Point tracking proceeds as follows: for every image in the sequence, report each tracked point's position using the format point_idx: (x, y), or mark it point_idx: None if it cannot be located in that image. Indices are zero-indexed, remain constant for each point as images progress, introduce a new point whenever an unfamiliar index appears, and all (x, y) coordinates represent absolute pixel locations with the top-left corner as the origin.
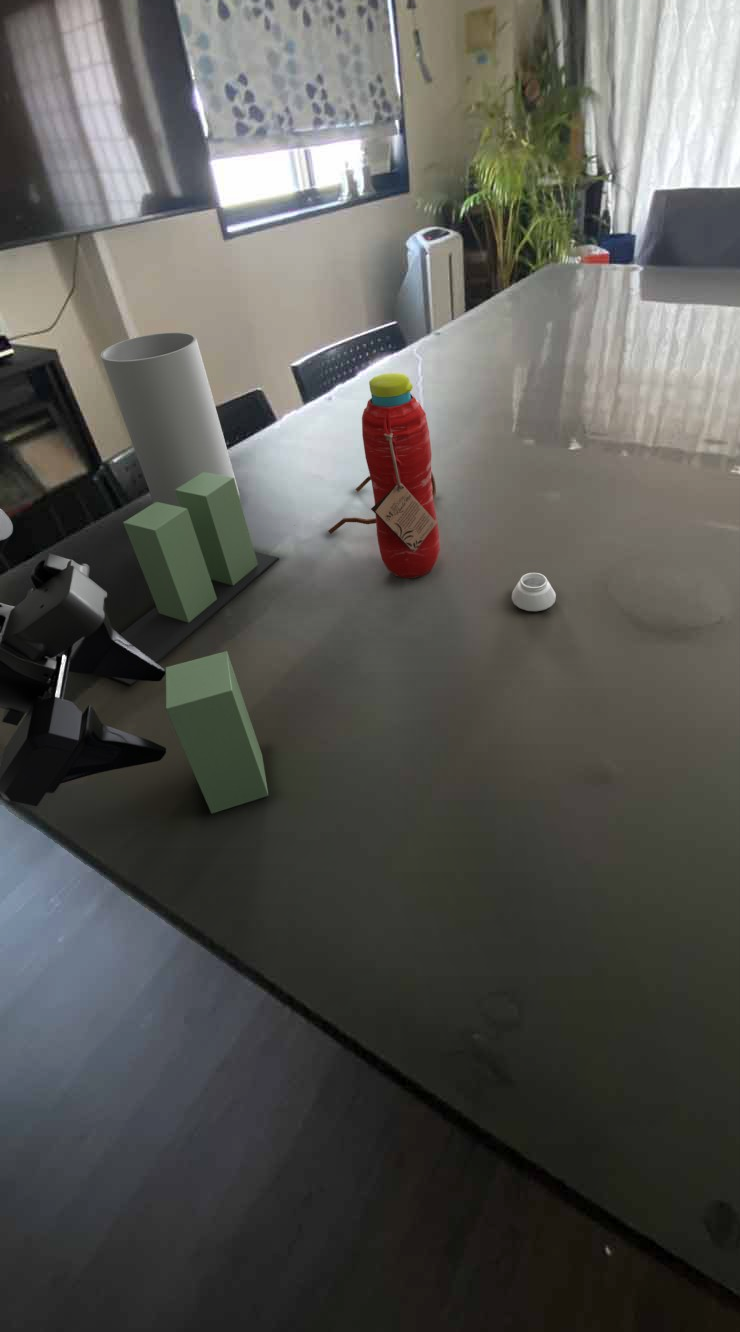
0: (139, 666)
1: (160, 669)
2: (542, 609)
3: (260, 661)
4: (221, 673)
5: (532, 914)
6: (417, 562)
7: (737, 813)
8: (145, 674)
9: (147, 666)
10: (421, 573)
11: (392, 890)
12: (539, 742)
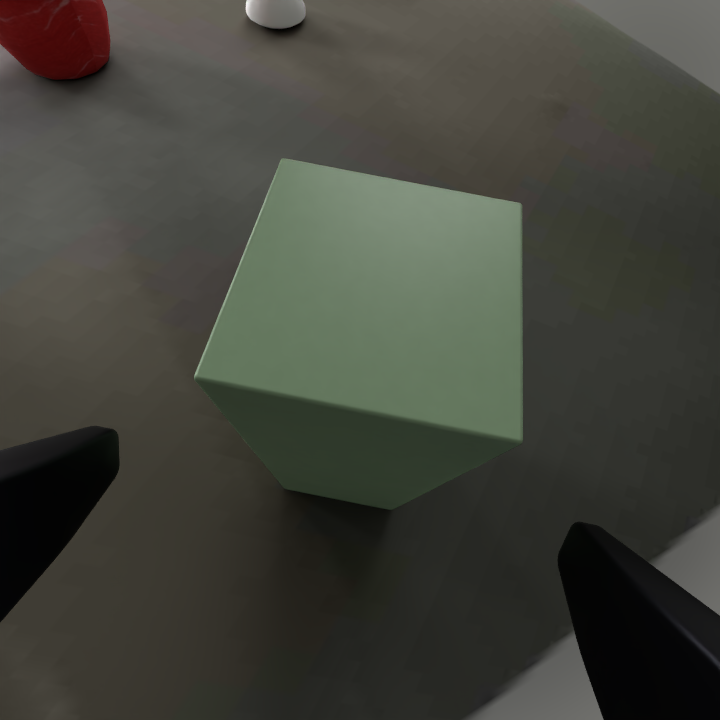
0: (8, 522)
1: (93, 437)
2: (304, 16)
3: (66, 314)
4: (405, 203)
5: (691, 225)
6: (96, 22)
7: (633, 68)
8: (62, 512)
9: (42, 481)
10: (108, 52)
11: (629, 321)
12: (491, 120)
